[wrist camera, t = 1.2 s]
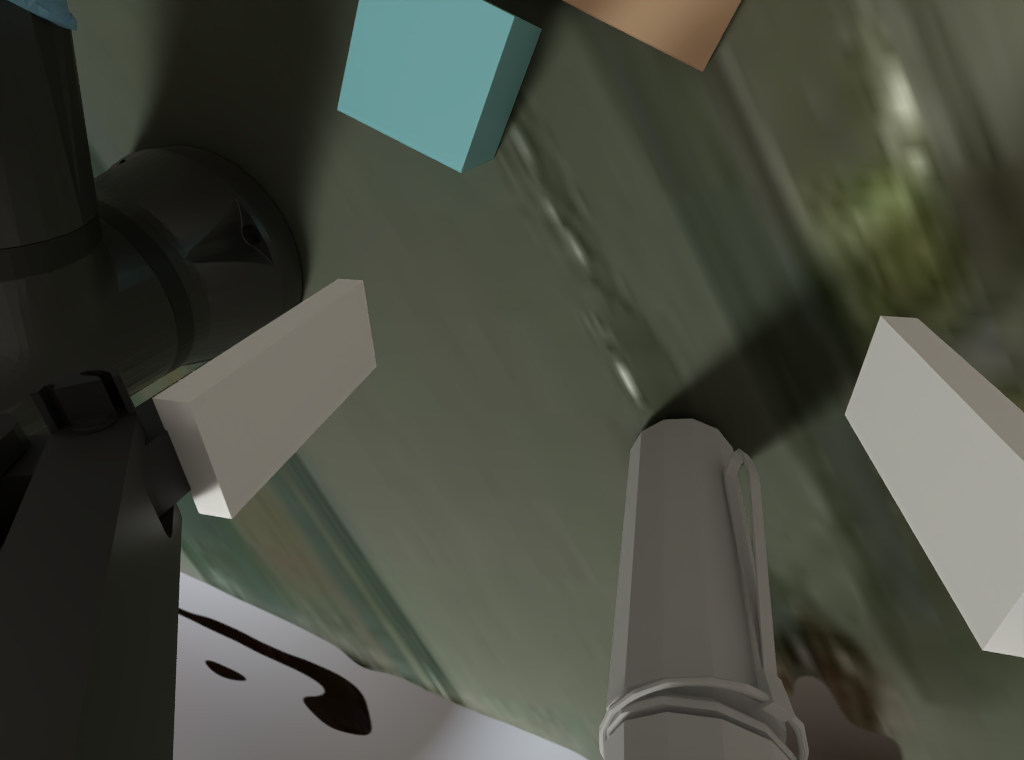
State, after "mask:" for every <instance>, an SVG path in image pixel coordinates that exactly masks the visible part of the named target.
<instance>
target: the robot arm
mask: <svg viewBox="0 0 1024 760" xmlns="http://www.w3.org/2000/svg"><path fill="white" fill-rule="evenodd" d="M71 29H72V30H74V31H77V22H76V18H75V17H74V16H73V15H72V14H71V13H70V12H69V10H68V6H67V1H66V0H0V760H173V738H174V711H175V684H176V659H177V658H176V657H177V656H176V655H177V632H178V606H179V579H180V554H181V528H182V516H181V513H180V511H179V508H178V506H177V504H176V503H177V502H178V501H179V500H180V499H181V498H182V497H183V496H184V495H186V494H187V493H188V492H189V491H190V492H191V494H192V497H193V499H194V502H195V504H196V507H197V509H198V512H199V513H201V514H206V515H212V516H218V517H224V518H229V519H232V518H233V517H234V516H235V515H236V514H237V513H238V512H239V511H240V510H241V509H242V508H243V507H244V506H245V505H246V504H247V502H248V501H249V500H250V499H251V498H252V497H253V496H254V495H255V494H256V493H257V492H258V491H259V490H260V489H261V488H262V487H263V486H264V485H265V484H266V482H267V481H268V480H269V479H270V478H271V477H272V476H273V475H274V474H275V473H276V472H277V471H278V470H279V469H280V468H281V467H282V466H283V465H284V464H285V462H286V461H287V460H288V459H289V458H290V457H291V456H292V455H293V454H294V453H295V452H296V451H297V450H298V449H299V448H300V447H301V446H302V445H303V444H304V442H305V441H306V440H307V439H308V438H309V437H310V436H311V435H312V434H313V433H314V432H315V431H316V430H317V429H318V428H319V427H320V426H321V425H322V424H323V422H324V421H325V420H326V419H327V418H328V417H329V416H330V415H331V414H332V413H333V412H334V411H335V410H336V409H337V408H338V407H339V406H340V405H341V404H342V402H343V401H344V400H345V399H346V398H347V397H348V396H349V395H350V394H351V393H352V392H353V391H354V390H355V389H356V388H357V387H358V386H359V385H360V384H361V382H362V381H363V380H364V379H365V378H366V377H367V376H368V375H369V374H370V373H371V372H372V371H373V370H374V369H375V368H376V367H377V366H376V360H375V353H374V347H373V341H372V334H371V328H370V322H369V315H368V309H367V302H366V296H365V290H364V283H363V280H348V279H337V280H336V281H334V282H333V283H331V284H330V285H328V286H326V287H325V288H323V289H322V290H320V291H319V292H317V293H316V294H314V295H312V296H311V297H309V298H308V299H306V300H305V301H303V302H301V303H300V300H301V294H302V272H301V265H300V260H299V255H298V252H297V248H296V245H295V242H294V240H293V237H292V235H291V233H290V230H289V228H288V226H287V224H286V222H285V221H284V219H283V217H282V215H281V214H280V212H279V210H278V209H277V208H276V206H275V205H274V203H273V202H272V201H271V199H270V198H269V197H268V195H267V194H266V193H265V192H264V191H263V190H262V188H261V187H260V186H259V185H258V184H257V183H256V182H255V181H254V180H253V179H251V178H250V177H249V176H248V175H247V174H246V173H245V172H243V171H242V170H241V169H239V168H238V167H237V166H235V165H234V164H232V163H231V162H229V161H228V160H226V159H224V158H222V157H220V156H218V155H216V154H214V153H212V152H209V151H206V150H203V149H200V148H196V147H191V146H166V147H159V148H151V149H145V150H141V151H137V152H134V153H132V154H129V155H127V156H125V157H124V158H122V159H121V160H119V161H118V162H117V163H115V164H114V165H112V166H111V167H110V168H109V169H108V171H106V172H105V173H103V174H101V175H99V176H97V177H96V178H94V177H93V171H92V165H91V159H90V152H89V146H88V139H87V132H86V126H85V119H84V112H83V105H82V99H81V92H80V85H79V79H78V72H77V65H76V58H75V52H74V45H73V38H72V31H71ZM205 361H208V362H206V363H204V364H203V365H201V366H200V367H198V368H197V369H195V371H194V372H190V373H189V374H187V375H186V376H184V377H183V378H181V380H180V381H176V382H175V383H173V384H172V385H170V386H168V387H167V388H165V389H164V390H162V391H161V392H159V393H157V394H156V395H154V396H153V397H151V398H150V399H148V400H147V401H145V402H143V403H142V404H140V405H139V406H137V407H136V408H135V407H134V404H133V402H132V400H131V397H130V396H132V395H133V394H135V393H137V392H138V391H140V390H142V389H143V388H145V387H147V386H148V385H150V384H151V383H153V382H155V381H156V380H158V379H160V378H161V377H163V376H165V375H166V374H168V373H170V372H172V371H173V370H175V369H177V368H179V367H180V366H184V365H190V364H195V363H200V362H205ZM845 416H846V418H847V419H848V421H849V423H850V424H851V426H852V428H853V430H854V431H855V433H856V435H857V436H858V438H859V440H860V442H861V443H862V445H863V447H864V448H865V450H866V452H867V454H868V455H869V457H870V459H871V460H872V462H873V464H874V465H875V467H876V469H877V471H878V472H879V474H880V476H881V477H882V479H883V481H884V483H885V484H886V486H887V488H888V489H889V491H890V493H891V495H892V496H893V498H894V500H895V501H896V503H897V505H898V507H899V508H900V510H901V512H902V513H903V515H904V517H905V518H906V520H907V522H908V524H909V525H910V527H911V529H912V530H913V532H914V534H915V536H916V537H917V539H918V541H919V542H920V544H921V546H922V548H923V549H924V551H925V553H926V554H927V556H928V558H929V559H930V561H931V563H932V565H933V566H934V568H935V570H936V571H937V573H938V575H939V577H940V578H941V580H942V582H943V583H944V585H945V587H946V589H947V590H948V592H949V594H950V595H951V597H952V599H953V601H954V602H955V604H956V606H957V607H958V609H959V611H960V612H961V614H962V616H963V618H964V619H965V621H966V623H967V624H968V626H969V628H970V630H971V631H972V633H973V635H974V636H975V638H976V640H977V642H978V643H979V645H980V647H981V648H982V650H985V651H990V652H996V653H1002V654H1008V655H1013V656H1019V657H1024V412H1023V411H1021V410H1020V409H1019V408H1018V407H1017V406H1016V405H1015V404H1014V403H1012V402H1011V401H1010V400H1009V399H1008V398H1007V397H1006V396H1005V395H1003V394H1002V393H1001V392H1000V391H999V390H998V389H997V388H996V387H994V386H993V385H992V384H991V383H990V382H989V381H988V380H987V379H985V378H984V377H983V376H982V375H981V374H980V373H979V372H978V371H976V370H975V369H974V368H973V367H972V366H971V365H970V364H969V363H967V362H966V361H965V360H964V359H963V358H962V357H961V356H959V355H958V354H957V353H956V352H955V351H954V350H953V349H952V348H950V347H949V346H948V345H947V344H946V343H945V342H944V341H943V340H941V339H940V338H939V337H938V336H937V335H936V334H935V333H934V332H932V331H931V330H930V329H929V328H928V327H927V326H926V325H925V324H923V323H922V322H921V321H920V320H919V319H918V318H907V317H892V316H880V318H879V321H878V324H877V327H876V330H875V332H874V335H873V338H872V341H871V343H870V346H869V349H868V352H867V354H866V357H865V360H864V363H863V366H862V368H861V371H860V374H859V377H858V379H857V382H856V385H855V388H854V390H853V393H852V396H851V399H850V402H849V404H848V407H847V410H846V413H845Z"/></svg>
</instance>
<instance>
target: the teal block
mask: <svg viewBox="0 0 1024 760" xmlns="http://www.w3.org/2000/svg"><path fill="white" fill-rule="evenodd" d="M541 31H542V29H541V28H539V27H537V26H535V25H533V24H531V23H529V22H527V21H525V20H523V19H521V18H519V17H517V16H515V15H513V14H511V13H509V12H507V11H505V10H504V9H502V8H500V7H498V6H496V5H494V4H492V3H490V2H488V1H486V0H359V3H358V8H357V13H356V18H355V23H354V28H353V33H352V38H351V43H350V48H349V53H348V58H347V63H346V68H345V73H344V78H343V83H342V88H341V93H340V98H339V103H338V108H337V110H339V111H341V112H343V113H345V114H347V115H349V116H351V117H353V118H355V119H356V120H358V121H360V122H362V123H364V124H366V125H368V126H370V127H372V128H374V129H376V130H378V131H380V132H382V133H384V134H386V135H388V136H390V137H392V138H394V139H396V140H398V141H400V142H402V143H403V144H405V145H407V146H409V147H411V148H413V149H415V150H417V151H419V152H421V153H423V154H425V155H427V156H429V157H431V158H433V159H435V160H437V161H439V162H441V163H443V164H445V165H447V166H449V167H450V168H452V169H454V170H456V171H458V172H460V173H462V172H464V171H466V170H469V169H471V168H473V167H476V166H478V165H480V164H483V163H485V162H487V161H490V160H492V159H494V157H495V154H496V151H497V148H498V146H499V143H500V140H501V138H502V135H503V132H504V130H505V127H506V124H507V122H508V119H509V116H510V114H511V111H512V108H513V106H514V103H515V100H516V98H517V95H518V92H519V90H520V87H521V84H522V81H523V79H524V76H525V73H526V71H527V68H528V65H529V63H530V60H531V57H532V55H533V52H534V49H535V47H536V44H537V41H538V39H539V36H540V33H541Z"/></svg>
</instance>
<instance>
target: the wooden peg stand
mask: <svg viewBox="0 0 1024 760" xmlns="http://www.w3.org/2000/svg"><path fill="white" fill-rule="evenodd" d="M562 1H564V2H566V3H568V4H569V5H571V6H573V7H575V8H577V9H579V10H581V11H583V12H585V13H587V14H589V15H591V16H593V17H595V18H597V19H599V20H601V21H603V22H605V23H607V24H609V25H611V26H613V27H615V28H617V29H619V30H621V31H623V32H624V33H626V34H628V35H630V36H632V37H634V38H636V39H638V40H640V41H642V42H644V43H646V44H648V45H650V46H652V47H654V48H656V49H658V50H660V51H662V52H664V53H666V54H668V55H670V56H672V57H674V58H676V59H677V60H679V61H681V62H683V63H685V64H687V65H689V66H691V67H693V68H695V69H697V70H699V71H701V72H703V70H704V69H705V67H706V65H707V63H708V61H709V59H710V57H711V56H712V54H713V52H714V50H715V48H716V46H717V45H718V43H719V41H720V39H721V37H722V35H723V33H724V32H725V30H726V28H727V26H728V24H729V22H730V21H731V19H732V17H733V15H734V13H735V11H736V9H737V8H738V6H739V4H740V2H741V0H562Z"/></svg>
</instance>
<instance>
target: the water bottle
mask: <svg viewBox="0 0 1024 760" xmlns="http://www.w3.org/2000/svg"><path fill="white" fill-rule="evenodd" d="M743 462H744V464H745V467H746V470H747V473H748V486H749V499H750V512H751V525H752V538H753V550H754V557H753V552H752V547H751V541H750V536H749V531H748V525H747V520H746V515H745V510H744V504H743V499H742V494H741V488H740V483H739V478H738V470H739V468H740V466H741V465H742V463H743ZM606 709H607V713H606V715H605V716H604V718H603V721H602V723H601V725H600V727H599V744H600V753H601V755H602V757H603V758H604V760H794V759H793V753H792V752H791V751H790V750H789V749H788V748H787V747H786V727H785V722H786V721H788V723H789V724H790V725H791V726H792V728H793V730H794V733H795V735H796V738H797V746H798V753H797V760H807V758H808V753H809V749H808V744H807V739H806V734H805V729H804V725H803V723H802V722H801V721H800V720H799V719H798V718H797V717H796V716H795V714H794V712H793V709H792V707H791V704H790V702H789V699H788V696H787V694H786V691H785V689H784V686H783V684H782V681H781V679H779V678H778V677H777V670H776V659H775V647H774V636H773V624H772V613H771V602H770V590H769V579H768V568H767V556H766V545H765V534H764V522H763V511H762V500H761V488H760V479H759V476H758V473H757V470H756V467H755V465H754V463H753V461H752V460H751V458H750V457H749V456H748V455H747V454H746V453H745V452H743V451H742V450H740V449H737V450H736V451H735V452H734V451H733V448H732V446H731V445H730V444H729V443H728V441H727V440H726V439H725V438H724V436H723V435H722V434H721V432H720V431H719V430H718V429H716V428H714V427H712V426H709V425H707V424H704V423H702V422H699V421H697V420H695V419H667V420H662V421H660V422H658V423H657V424H655V425H653V426H651V427H649V428H647V429H645V430H643V431H642V432H641V433H640V435H639V437H638V438H637V440H636V442H635V443H634V445H633V447H632V449H631V450H630V461H629V471H628V482H627V493H626V504H625V514H624V525H623V536H622V546H621V557H620V568H619V579H618V589H617V600H616V611H615V621H614V632H613V643H612V654H611V664H610V675H609V686H608V697H607V707H606Z"/></svg>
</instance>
